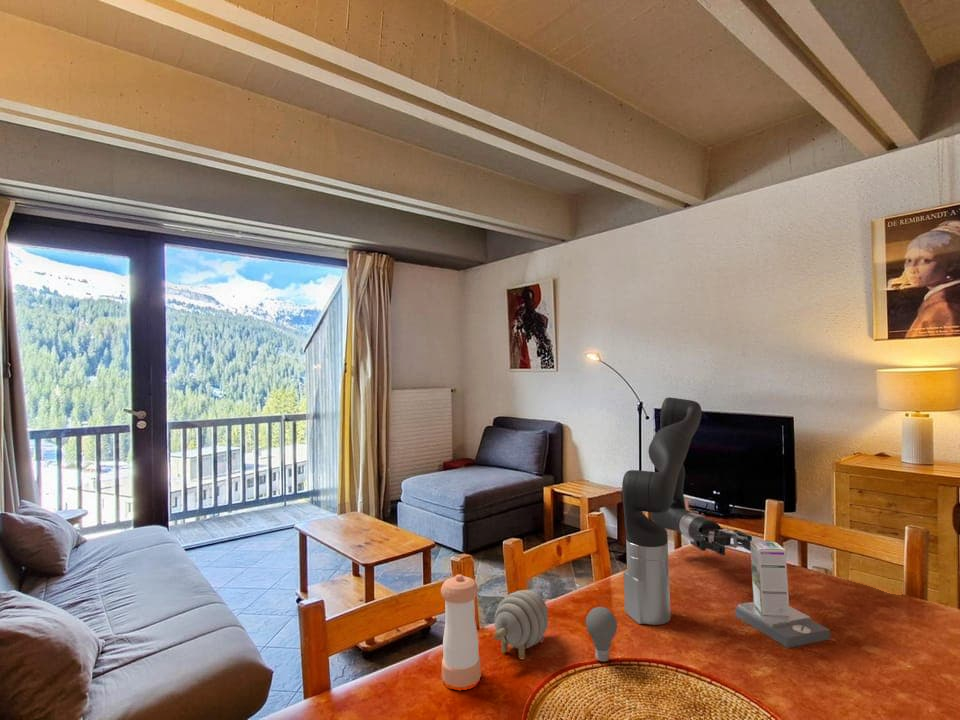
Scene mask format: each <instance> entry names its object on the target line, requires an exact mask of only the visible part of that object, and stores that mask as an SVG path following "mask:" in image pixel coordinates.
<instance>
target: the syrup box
mask: <svg viewBox="0 0 960 720" xmlns="http://www.w3.org/2000/svg"><path fill="white" fill-rule="evenodd" d="M750 547H751V551H750V563H751V578H752V580H751V581H752V583H751V584H752V597H753V599H752V600H753V601H752V602H754V605H755V606H756V607H757V608H758V610H759V611H760V612H761V614H762V615H769V616H788V617H789V616H790V614H789V606H790V599H789V581H788V567H787V553H786V552H787V551H786V549H785V548H784V547H783V546H782V545H780V544H779V543H778V542H776V541H775V540H774V541H773V540H752V541H750Z"/></svg>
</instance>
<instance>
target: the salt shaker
mask: <svg viewBox="0 0 960 720" xmlns="http://www.w3.org/2000/svg"><path fill="white" fill-rule="evenodd" d="M440 594H441V597H442V599H443V600H444V601H445V609H444V610H445V613H444V615H445V622H444V631H443V639H442V648H443V657H442V661H441V680H442V679H443V681H445V683H447V684H449V685H451V686H455V687H466V686H470V685H472V684H475V683H476V682H477V681H478V680H479V679H480V677H481V678H482V669H481V668H482V666H481V664H482V661H481V657H480V655H479V636H478V630H477V623H476V617H475V615H476V613H475V612H476V611H475V599H476V598H477V596H478V594H479V587H478V584H477V583H476V581H475V579H474V578H472V577H469V576H464V575H463V574H460V573H458V574H456V575H455V576H453V577H450V578H447V579H446V580H445V581H444V582H443V583H442V585H441V588H440Z"/></svg>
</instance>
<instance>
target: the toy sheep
mask: <svg viewBox="0 0 960 720" xmlns="http://www.w3.org/2000/svg"><path fill="white" fill-rule="evenodd" d="M546 601H547V600H545V599H543V597H542V596H540V594H539V593H537V592H536V591H533V590H531V589H523V590H517V591H514V592H511V593H509V594H508V595H506V596H505V597H504V598H503V599H502V600H501V601H500V602H499V604H498V605H497V609H496V611H495V614H494V626H495V630H496V631H495V632H494V634H493V636H494V639H495V640H497V641H500V640H501V641H500V643H501V644H500V645H501V652H502V651H503V652H506V651H508V652H509V650H508V649H509V648H508V647H509V646H508V645H510V646H511V647H514V648H516V649H517V650H518V652H517V653H518V658H519V657H520V658H524V659H526V649H529V648H531V647H533V646H535V645H537V644H539V643H540V642H539V641H543V642H544V634H545V633H546V631H547V629H548V623H549V619H548V617H549V612H548V611H549V610H548V606H547V604H546Z"/></svg>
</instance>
